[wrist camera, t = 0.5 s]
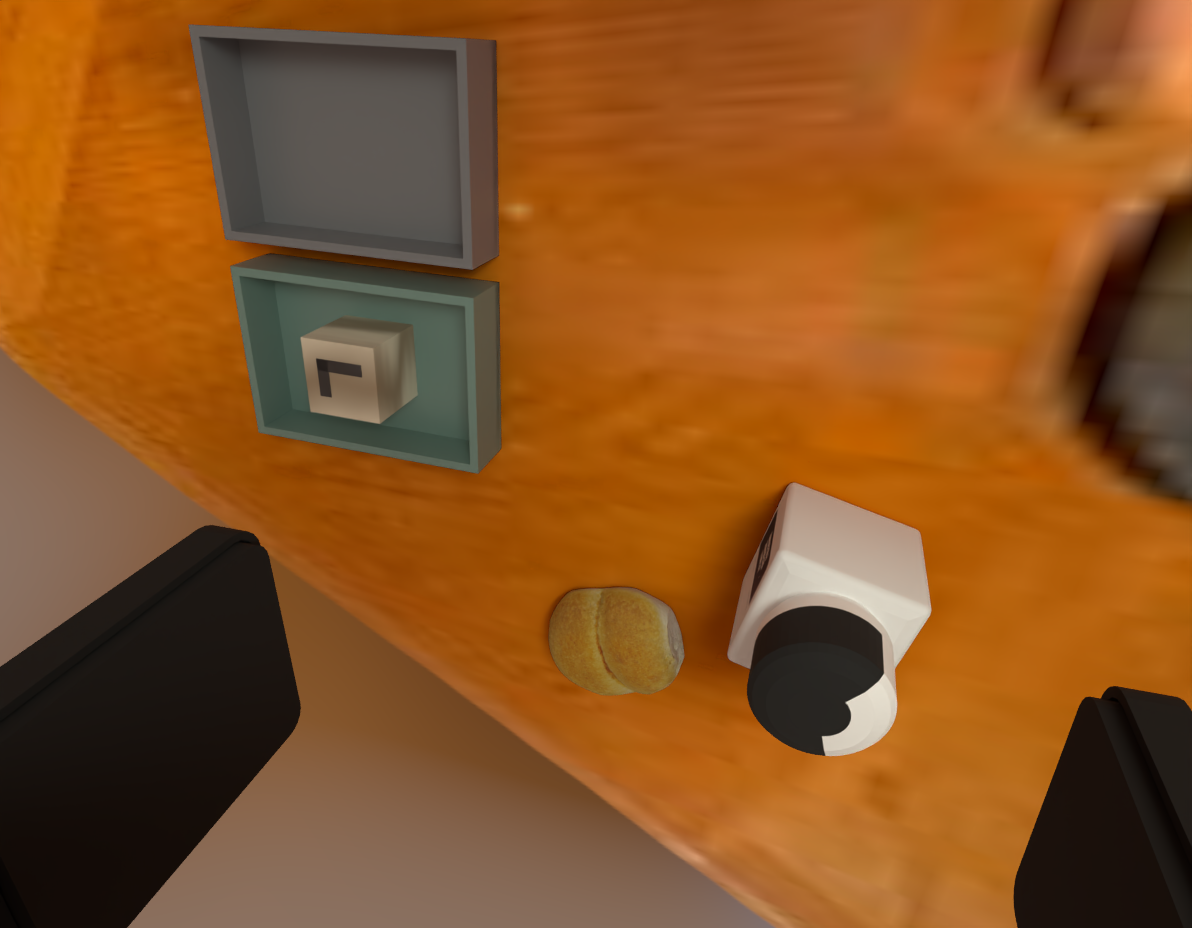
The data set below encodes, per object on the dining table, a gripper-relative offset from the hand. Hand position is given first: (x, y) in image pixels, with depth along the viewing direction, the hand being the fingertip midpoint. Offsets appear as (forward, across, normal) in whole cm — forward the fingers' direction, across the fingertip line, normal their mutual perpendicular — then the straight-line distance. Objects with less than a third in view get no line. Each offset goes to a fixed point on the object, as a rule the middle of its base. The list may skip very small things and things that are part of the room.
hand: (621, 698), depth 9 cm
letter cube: (+34, +24, +9) cm, 42 cm away
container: (+34, -4, +19) cm, 39 cm away
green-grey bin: (+34, +24, +9) cm, 42 cm away
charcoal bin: (+34, +23, -3) cm, 41 cm away
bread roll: (+35, +8, +27) cm, 45 cm away
